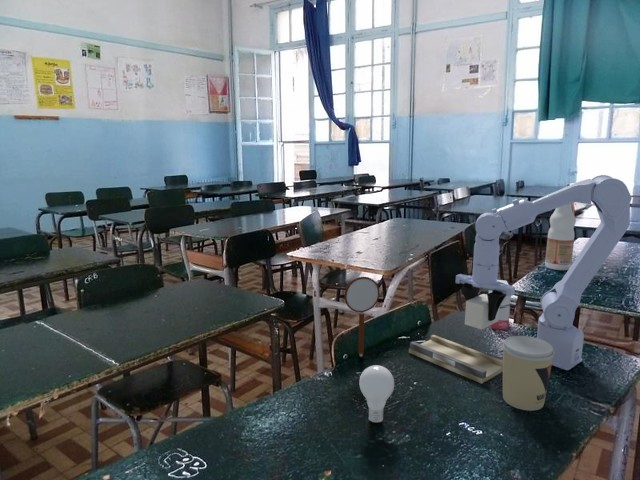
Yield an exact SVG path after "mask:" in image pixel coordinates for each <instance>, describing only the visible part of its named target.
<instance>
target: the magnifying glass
mask: <svg viewBox="0 0 640 480" xmlns="http://www.w3.org/2000/svg"><path fill="white" fill-rule="evenodd" d="M379 298H380V287H379V285H378V283H377V281H375V280H374V279H373V278H371V277H369V276H359V277H356V278H354V279H352V280H351V281H350V282H349V283H348V285H347V286H346V287H345V290H344V302H345V304H346V306H347V307H348V308H349V309H350V310H351V311H353V312H356V313H359V314H358V317H359V318H358V354H359V357H360V358H362V357H363V355H364V351H365V350H364V348H365V346H364V345H365V344H364V342H365V313H366V312H368V311H371V310H372V308H374V307H375V306H376V305H377V303H378V300H379Z"/></svg>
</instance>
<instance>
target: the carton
mask: <svg viewBox="0 0 640 480" xmlns="http://www.w3.org/2000/svg"><path fill="white" fill-rule="evenodd" d="M488 311H489V303H488V297H487V293H486V294H485V293H482V294H480V295H479V294H478V296H477V297H474V298H472V299H470V300H467V301H466V300H465V315H464V325H465V326H469V327H472V328H476V329H478V330H484V329H486V328H487V327H490V325H492V324H493V323H495V322H497V321H498V317H499V309H498V311H497V314H496V317H495V319H494V320H492V321H489V320H488Z"/></svg>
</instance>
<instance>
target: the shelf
mask: <svg viewBox="0 0 640 480" xmlns="http://www.w3.org/2000/svg"><path fill="white" fill-rule="evenodd" d="M408 353H409V354H411V355H414V356H416V357H418V358H421V359H423V360H424V361H428V362H429V363H432V364H435V365H437V366H439V367H441V368H444V369H446V370H449V371H451V372H453V373H456V374H458V375H459V376H460V375H461V376H462V377H465V378H467V379H470V380H473V381H475V382H477V383H479V384H484V383H485V382H487V381H489V380H491V379H492V378H494V377H497V376H498V375H499V374H501V373H503V359H501V358H497V357H495V356H492V355H489V354H486V353H484V352H481V351H479V350H476V349H473V348H470V347H468V346H465V345H462V344H459V343H458V342H454V341H452V340H449V339H446V338H444V337H441V336H439V335H436V334H432V335H430V339H429V340H426V341H423V342H422V343H418V342H416V341H411V342H409V348H408Z"/></svg>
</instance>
